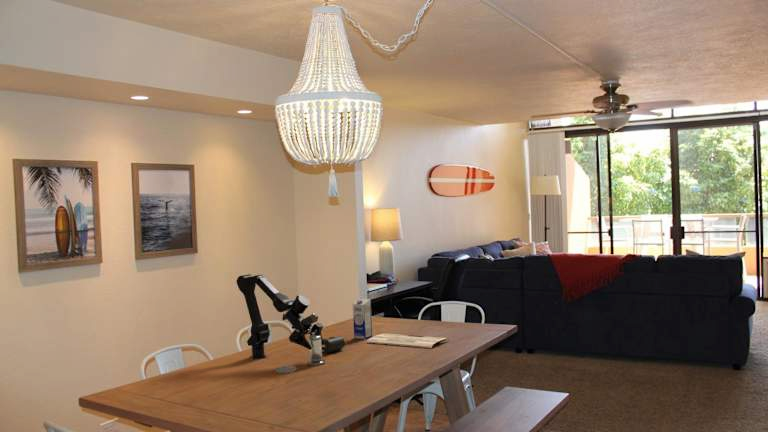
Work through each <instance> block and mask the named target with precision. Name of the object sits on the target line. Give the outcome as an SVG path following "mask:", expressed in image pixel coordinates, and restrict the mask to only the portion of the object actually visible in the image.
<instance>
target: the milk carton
mask: <svg viewBox="0 0 768 432" xmlns="http://www.w3.org/2000/svg"><path fill="white" fill-rule="evenodd" d="M371 302H372V301H371V299H370V298H367V299H366V298H359V299H357V300H356V301H354V302H353V303H352V318H353V319H352V320H353V334H354V335H353V336H354V337H353V339H354V340H355V339H356V340H363V339H366V340H368V339H369V338H370V337H371V338H372V337H373V328H372V327H373V325H372V308H371V307H372V305H371V304H372V303H371Z"/></svg>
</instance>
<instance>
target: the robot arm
mask: <svg viewBox="0 0 768 432" xmlns="http://www.w3.org/2000/svg"><path fill="white" fill-rule="evenodd" d="M236 285H237V288H238V290H239V291H240V292H241V293H242V294H243V296H244V301H245V303H246V306H247V307H246V308H247V311H248V315H249V318H250V322H251V327H250V336H249V338H248V339H247V340H246V343H247V346H251V355H250V358H251V359H252V360H257V359H262V358H267V355H266V354H265V344H267V343H268V342H269V338H270V335H271V330H270V327H269V324H268V323H265V322H264V321H263V318H262V315H261V311H260V308H259V305H258V300H257V296H256V294H255V291H256V287H259V289H260V290H261V291H263V293H264V294H265V295H266V296H268V298H269V299H270V300H271V301H272V305H273V307H274V308H275V309H276V311H277V312H278V313H283V314H282V318H281V319H282V321H286V320H287V321H288V323H289V324H291V329H292V330H293V331H292V332H291V333H290V335H289V337H288V340H289V342H290V343H291V344H292V343H293V344H296V345H298V346H301V347H303V348H306V349H308V350H309V351H310V350H311V349H312V347H311V345H310V343H309V340H307V338H306V335H309V336H313V335H320V336H321V346H325V345H324V344H325V343H324V341H323V339H324V338H323V335H322V331H323V328H324V326H323V324H322V323H321V322H318V320H319V316H318V315H317V313H312V314H310V315H308V316H307V317H305V316H304V317H303V316H302V314H304V312H305V311H306V310H307V308H309V306H310V304H311V301H310V300H309V299H308V298H307V297H306V296H302V294H297V296H295V299H294V300H292V298H289V296H287V295H285V294H283V293H281V292H279V290H278V289H276V287H275V286H274V285H273V284H272V283H271V282H270V281H269V280H268V279H267V278H266V276H265V275H264V274H257V275H253V274H249V273H248V274H243V275H242V274H241V275H239V276H238V277H237V279H236ZM317 322H318V323H317ZM314 323H315V324H314Z"/></svg>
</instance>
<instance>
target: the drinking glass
mask: <svg viewBox="0 0 768 432" xmlns="http://www.w3.org/2000/svg"><path fill="white" fill-rule="evenodd" d="M308 338H309V339H308V342H309V344H310V345H311V347H312V349H311V350H310V349H309V358H310V359H311V358H320V357H321V358H322V357H323V353H322V351H323V350H322V347H323V345H322V344H321V336H320V335H313V336H311V335H309V336H308Z"/></svg>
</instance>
